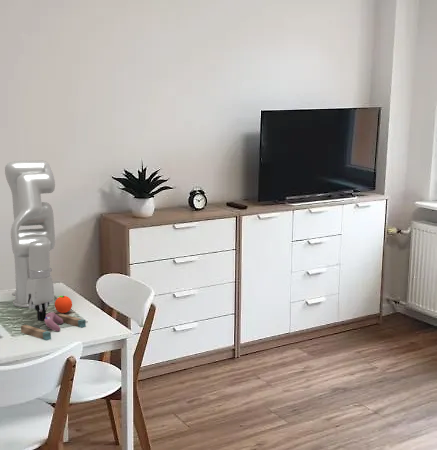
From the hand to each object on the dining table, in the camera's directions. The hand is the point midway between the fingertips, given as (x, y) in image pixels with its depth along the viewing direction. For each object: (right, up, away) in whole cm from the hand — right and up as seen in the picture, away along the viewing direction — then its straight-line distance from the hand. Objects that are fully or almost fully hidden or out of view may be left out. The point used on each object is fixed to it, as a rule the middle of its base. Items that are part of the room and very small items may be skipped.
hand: (41, 320), depth 260 cm
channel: (+5, -3, -3) cm, 7 cm away
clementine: (+4, +1, +17) cm, 17 cm away
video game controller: (+5, -3, -1) cm, 6 cm away
